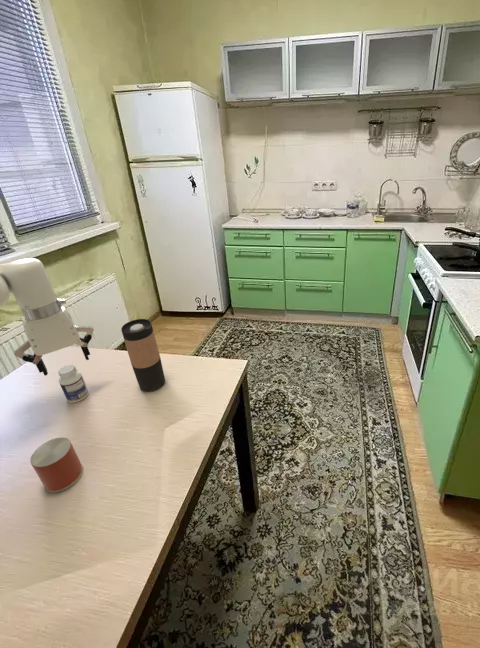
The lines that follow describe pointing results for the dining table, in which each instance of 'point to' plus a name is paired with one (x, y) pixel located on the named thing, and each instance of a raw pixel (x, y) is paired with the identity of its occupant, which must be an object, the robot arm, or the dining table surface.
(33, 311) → the robot arm
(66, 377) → the pill bottle
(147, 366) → the travel mug
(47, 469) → the tin can
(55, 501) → the dining table surface
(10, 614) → the dining table surface
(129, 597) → the dining table surface
